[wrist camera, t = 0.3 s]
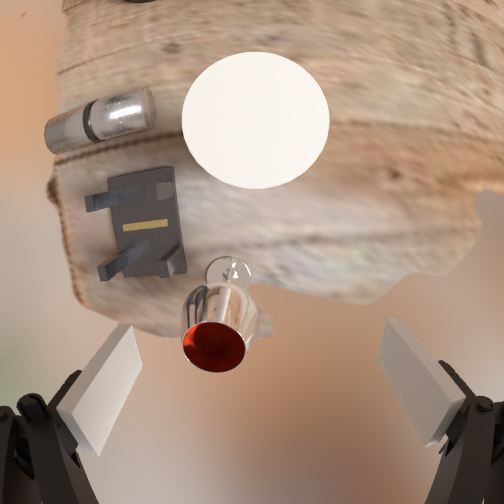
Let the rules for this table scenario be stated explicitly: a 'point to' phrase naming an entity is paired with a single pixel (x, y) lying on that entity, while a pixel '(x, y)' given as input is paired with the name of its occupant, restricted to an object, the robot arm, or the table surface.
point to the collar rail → (143, 224)
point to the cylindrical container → (255, 120)
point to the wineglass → (220, 318)
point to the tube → (101, 120)
